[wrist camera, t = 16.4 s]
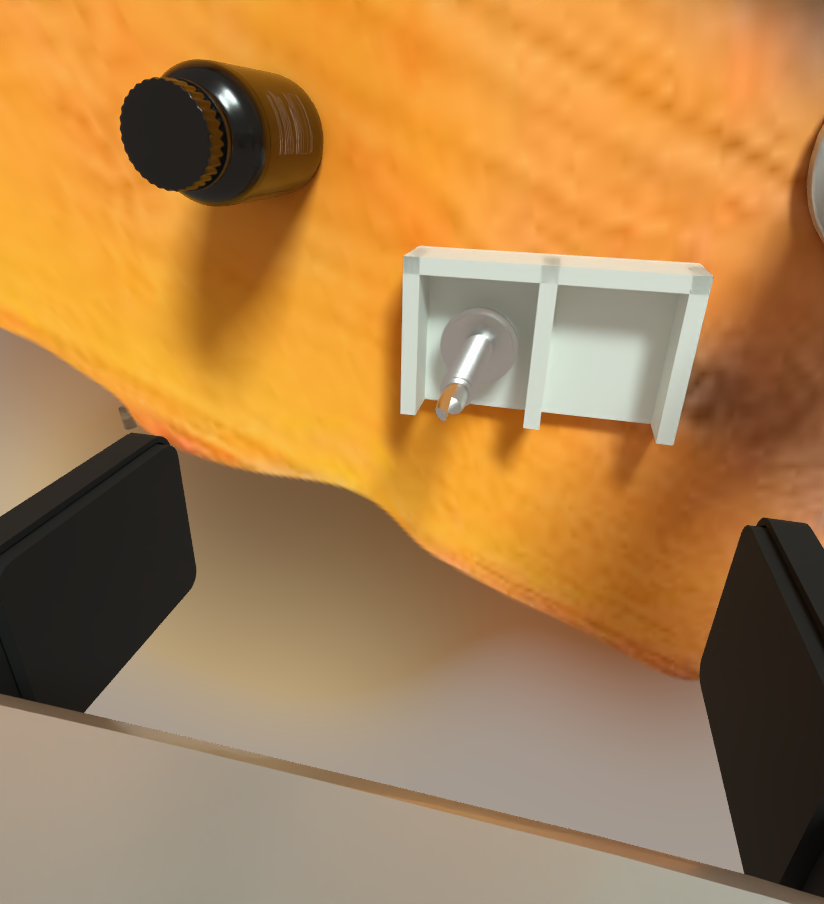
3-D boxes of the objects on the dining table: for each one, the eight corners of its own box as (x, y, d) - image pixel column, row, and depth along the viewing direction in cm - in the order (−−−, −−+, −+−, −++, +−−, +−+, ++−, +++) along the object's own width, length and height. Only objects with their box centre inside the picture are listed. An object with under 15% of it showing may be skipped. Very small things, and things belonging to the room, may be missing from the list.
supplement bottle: (239, 54, 38) (109, 19, 27) (340, 101, 37) (249, 85, 27) (215, 169, 41) (90, 178, 30) (308, 213, 41) (215, 237, 30)
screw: (530, 311, 39) (508, 381, 41) (456, 291, 39) (438, 361, 42) (511, 380, 28) (482, 471, 30) (408, 350, 28) (387, 442, 30)
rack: (699, 263, 37) (713, 276, 33) (664, 418, 41) (673, 445, 37) (418, 245, 40) (403, 256, 36) (414, 391, 44) (400, 413, 41)
